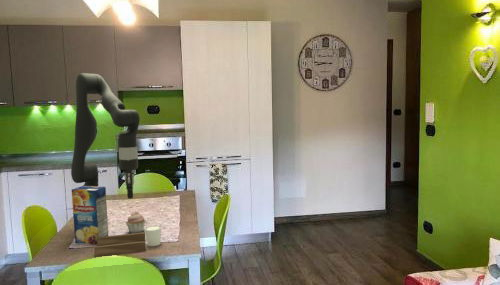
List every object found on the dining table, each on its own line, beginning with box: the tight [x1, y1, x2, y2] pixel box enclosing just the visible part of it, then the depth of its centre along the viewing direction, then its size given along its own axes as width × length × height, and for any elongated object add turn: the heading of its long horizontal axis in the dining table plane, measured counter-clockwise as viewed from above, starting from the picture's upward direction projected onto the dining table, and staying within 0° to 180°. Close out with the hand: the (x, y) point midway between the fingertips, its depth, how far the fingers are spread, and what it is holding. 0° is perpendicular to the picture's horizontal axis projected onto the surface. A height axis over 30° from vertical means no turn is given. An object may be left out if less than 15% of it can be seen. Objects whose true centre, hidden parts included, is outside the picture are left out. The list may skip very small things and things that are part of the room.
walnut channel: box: [93, 231, 147, 257], centre depth 169 cm, size 13×20×4 cm, turn 105°
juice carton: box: [71, 185, 109, 246], centre depth 177 cm, size 12×8×24 cm, turn 76°
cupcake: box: [125, 210, 147, 234], centre depth 189 cm, size 9×9×10 cm
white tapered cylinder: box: [144, 225, 162, 247], centre depth 172 cm, size 7×7×7 cm
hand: (130, 198), depth 168 cm, fingers closed
